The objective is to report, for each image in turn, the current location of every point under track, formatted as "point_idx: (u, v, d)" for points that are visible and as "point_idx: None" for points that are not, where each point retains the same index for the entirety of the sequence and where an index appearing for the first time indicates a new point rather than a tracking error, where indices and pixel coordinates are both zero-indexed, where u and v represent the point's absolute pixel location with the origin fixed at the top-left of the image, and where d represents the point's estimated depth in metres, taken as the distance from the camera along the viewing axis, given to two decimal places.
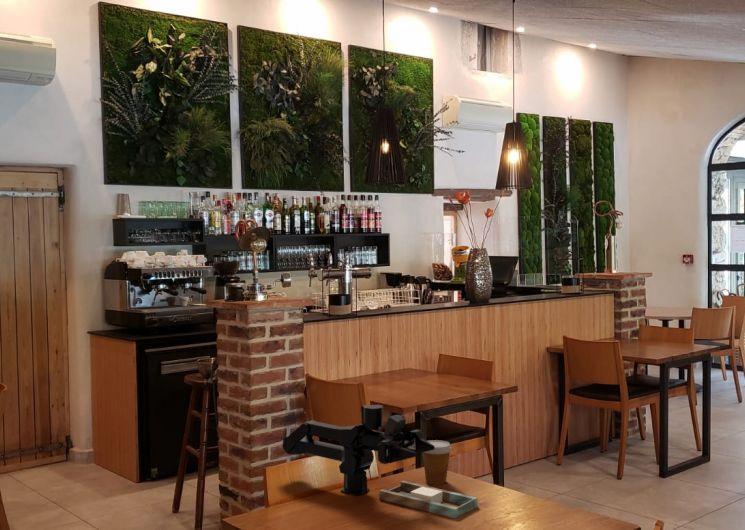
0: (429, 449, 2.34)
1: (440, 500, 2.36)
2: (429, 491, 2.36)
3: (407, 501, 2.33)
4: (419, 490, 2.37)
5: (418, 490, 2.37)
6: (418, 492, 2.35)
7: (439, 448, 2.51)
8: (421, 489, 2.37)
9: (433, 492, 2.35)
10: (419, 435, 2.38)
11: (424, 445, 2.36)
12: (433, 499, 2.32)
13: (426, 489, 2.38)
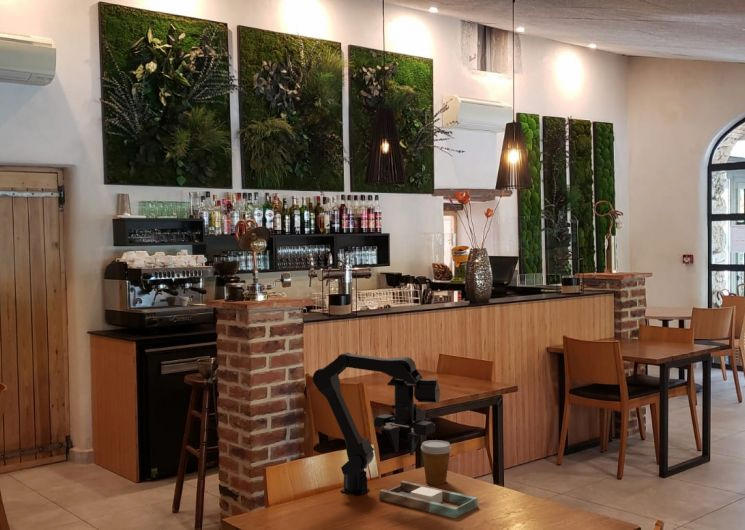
0: (395, 447, 2.41)
1: (440, 500, 2.36)
2: (429, 491, 2.36)
3: (407, 501, 2.33)
4: (419, 490, 2.37)
5: (417, 490, 2.37)
6: (418, 492, 2.35)
7: (439, 448, 2.51)
8: (421, 489, 2.37)
9: (433, 492, 2.35)
10: None
11: (396, 440, 2.42)
12: (433, 498, 2.32)
13: (426, 489, 2.38)
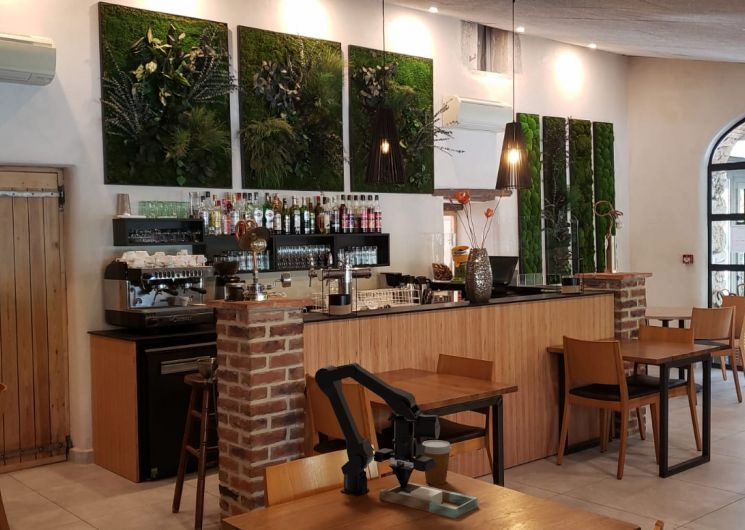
0: None
1: (440, 500, 2.36)
2: (429, 491, 2.36)
3: (407, 501, 2.33)
4: (419, 490, 2.37)
5: (417, 490, 2.37)
6: (418, 492, 2.35)
7: (439, 448, 2.51)
8: (421, 489, 2.37)
9: (433, 492, 2.35)
10: None
11: None
12: (433, 498, 2.32)
13: (426, 489, 2.38)
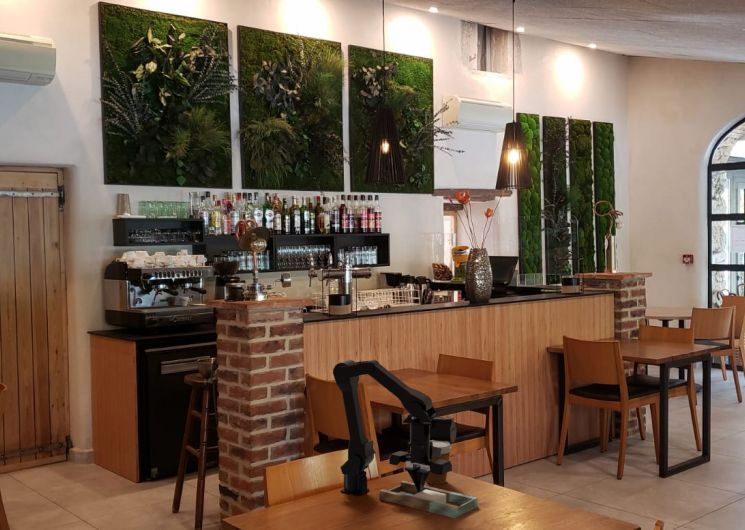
0: None
1: (444, 503, 2.34)
2: (432, 494, 2.34)
3: (407, 501, 2.33)
4: (423, 492, 2.36)
5: (421, 493, 2.35)
6: (421, 495, 2.34)
7: None
8: (425, 492, 2.36)
9: (437, 495, 2.33)
10: None
11: None
12: (436, 502, 2.31)
13: (430, 492, 2.36)
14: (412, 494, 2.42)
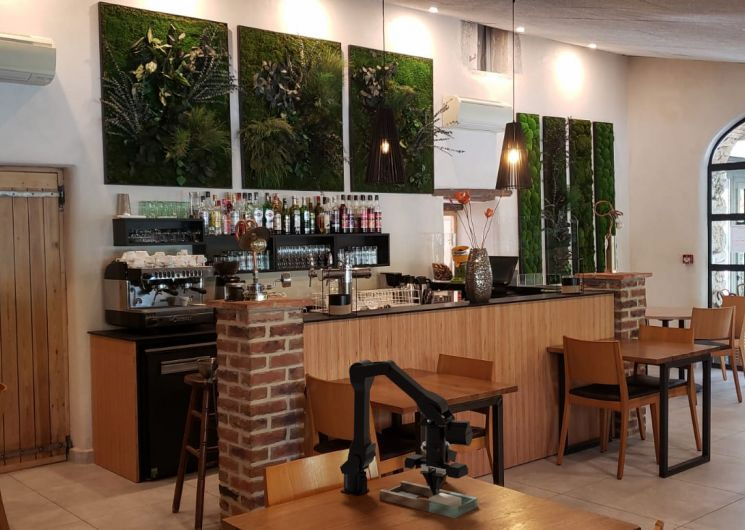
0: None
1: None
2: (447, 498, 2.30)
3: (407, 501, 2.33)
4: (438, 496, 2.32)
5: (436, 496, 2.32)
6: (436, 498, 2.30)
7: None
8: (440, 496, 2.32)
9: (452, 499, 2.29)
10: None
11: None
12: (450, 505, 2.27)
13: (445, 495, 2.33)
14: (412, 494, 2.42)
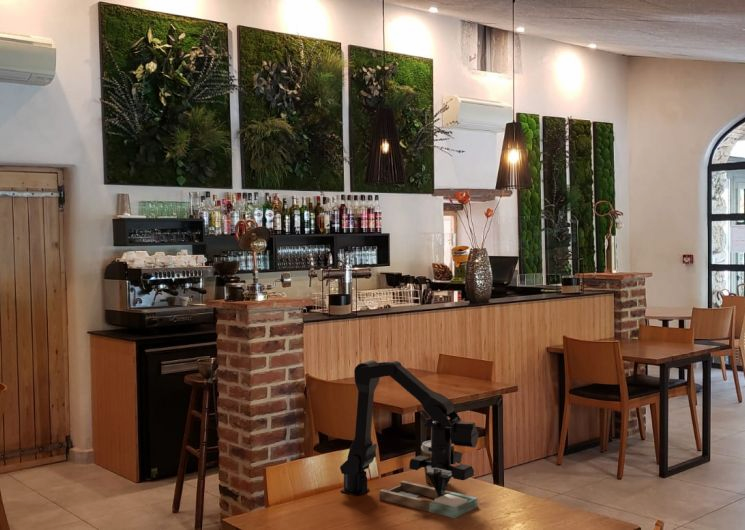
0: None
1: None
2: (453, 499, 2.29)
3: (407, 501, 2.33)
4: (443, 497, 2.31)
5: (442, 498, 2.30)
6: (441, 499, 2.29)
7: None
8: (445, 497, 2.31)
9: (458, 500, 2.28)
10: None
11: None
12: None
13: (451, 497, 2.31)
14: (412, 494, 2.42)
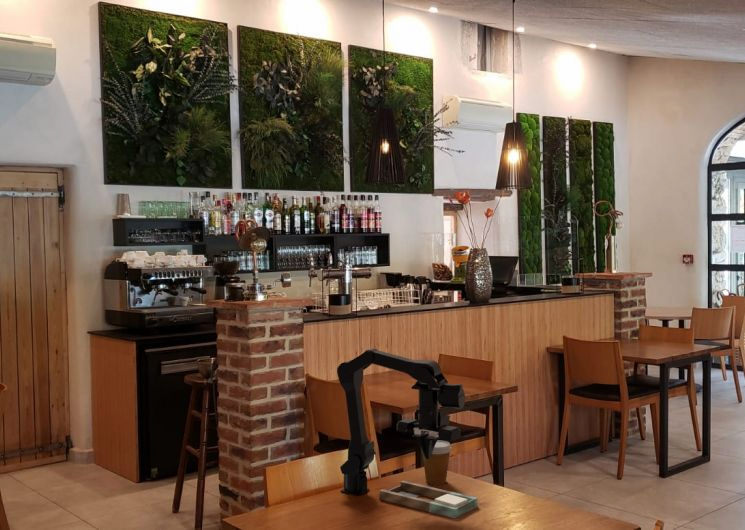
0: None
1: None
2: (453, 499, 2.29)
3: (407, 501, 2.33)
4: (444, 497, 2.31)
5: (442, 498, 2.30)
6: (442, 499, 2.29)
7: (439, 448, 2.51)
8: (446, 497, 2.31)
9: (458, 500, 2.28)
10: None
11: None
12: None
13: (451, 496, 2.31)
14: (412, 494, 2.42)
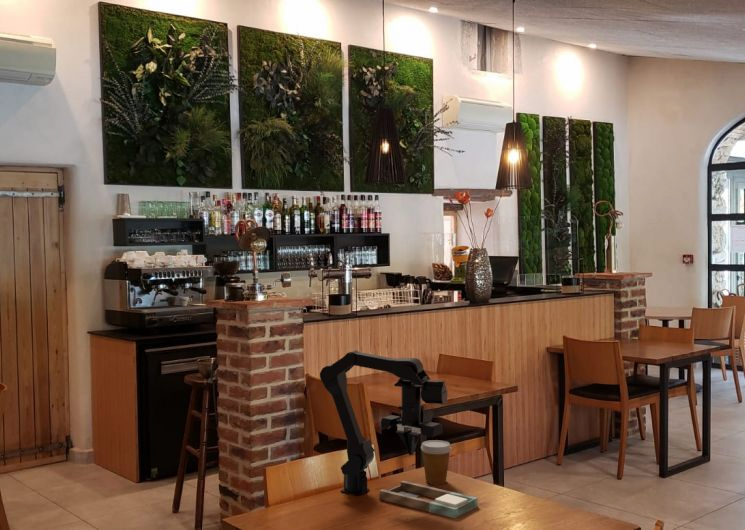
0: None
1: None
2: (453, 499, 2.29)
3: (407, 501, 2.33)
4: (443, 497, 2.31)
5: (442, 498, 2.30)
6: (442, 499, 2.29)
7: (439, 448, 2.51)
8: (446, 497, 2.31)
9: (458, 500, 2.28)
10: None
11: None
12: None
13: (451, 496, 2.31)
14: (412, 494, 2.42)
